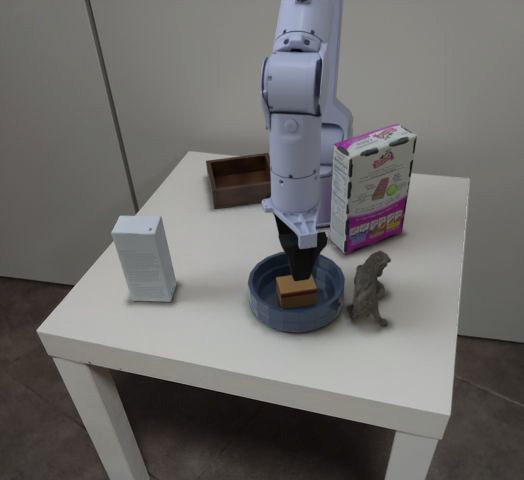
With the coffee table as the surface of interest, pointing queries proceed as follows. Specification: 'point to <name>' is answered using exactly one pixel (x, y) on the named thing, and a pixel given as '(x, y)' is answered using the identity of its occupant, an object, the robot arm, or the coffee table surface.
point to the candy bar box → (370, 187)
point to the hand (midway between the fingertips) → (294, 260)
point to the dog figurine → (369, 287)
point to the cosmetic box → (145, 257)
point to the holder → (239, 180)
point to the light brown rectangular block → (295, 292)
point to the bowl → (296, 318)
